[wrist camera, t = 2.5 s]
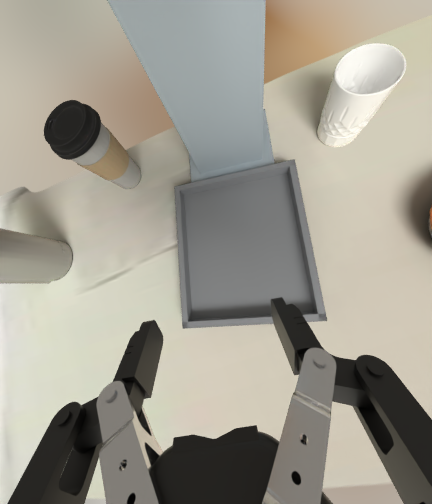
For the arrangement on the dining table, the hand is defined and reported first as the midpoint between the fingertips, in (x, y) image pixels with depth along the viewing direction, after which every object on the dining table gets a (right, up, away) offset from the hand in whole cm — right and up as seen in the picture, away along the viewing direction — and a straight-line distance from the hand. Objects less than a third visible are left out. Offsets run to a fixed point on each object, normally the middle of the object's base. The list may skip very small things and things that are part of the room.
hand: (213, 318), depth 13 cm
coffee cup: (-19, +22, +30) cm, 42 cm away
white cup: (+22, +26, +21) cm, 40 cm away
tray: (+5, +5, +21) cm, 22 cm away
